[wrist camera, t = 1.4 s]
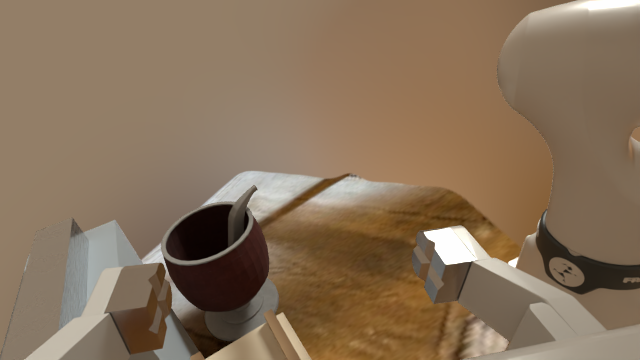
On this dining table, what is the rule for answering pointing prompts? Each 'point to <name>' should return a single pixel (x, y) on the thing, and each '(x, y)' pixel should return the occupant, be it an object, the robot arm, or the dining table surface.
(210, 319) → the mate gourd
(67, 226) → the bar
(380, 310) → the dining table surface
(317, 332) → the dining table surface
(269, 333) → the cradle block
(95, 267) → the grey tall block
